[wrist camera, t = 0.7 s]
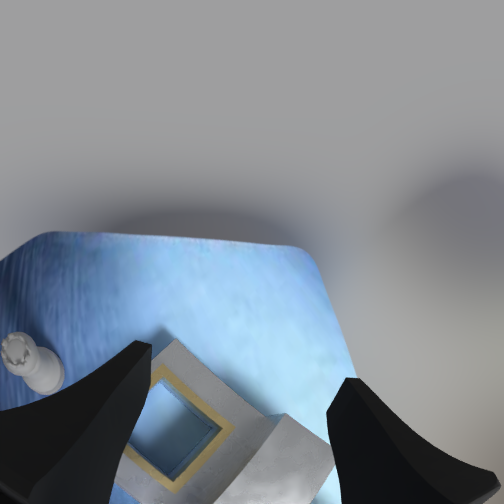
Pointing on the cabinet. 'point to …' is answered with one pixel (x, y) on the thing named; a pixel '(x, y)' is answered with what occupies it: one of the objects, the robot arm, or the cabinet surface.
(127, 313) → the cabinet surface
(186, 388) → the white stepped block
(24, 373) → the rook chess piece
